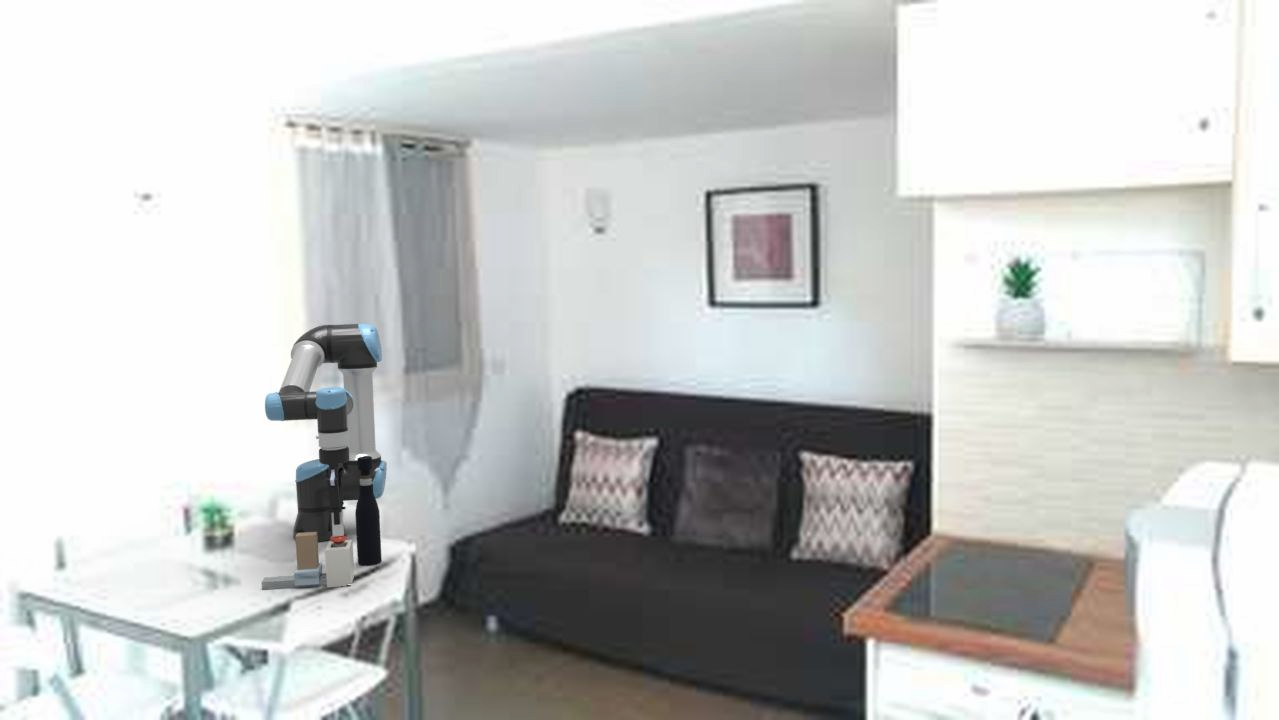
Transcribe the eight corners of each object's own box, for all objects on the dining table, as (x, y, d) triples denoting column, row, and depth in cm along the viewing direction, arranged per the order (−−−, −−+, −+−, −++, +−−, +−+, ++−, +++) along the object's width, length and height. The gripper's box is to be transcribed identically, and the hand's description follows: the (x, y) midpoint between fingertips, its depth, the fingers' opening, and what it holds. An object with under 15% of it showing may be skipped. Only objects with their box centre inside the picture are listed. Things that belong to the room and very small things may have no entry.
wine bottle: (357, 567, 272) (352, 460, 268) (357, 560, 278) (352, 455, 274) (381, 564, 273) (376, 458, 270) (381, 557, 280) (376, 454, 276)
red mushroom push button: (333, 560, 261) (331, 534, 260) (348, 559, 262) (347, 533, 261) (331, 565, 257) (329, 539, 256) (346, 564, 258) (345, 538, 257)
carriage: (299, 576, 261) (296, 531, 260) (322, 575, 262) (320, 529, 261) (294, 585, 254) (292, 538, 253) (318, 583, 256) (316, 537, 254)
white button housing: (331, 577, 263) (329, 541, 262) (354, 575, 264) (352, 539, 263) (327, 587, 255) (325, 550, 254) (350, 585, 256) (349, 548, 255)
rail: (265, 584, 259) (264, 577, 258) (330, 580, 261) (329, 572, 261) (261, 589, 255) (261, 582, 254) (328, 585, 257) (327, 577, 257)
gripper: (322, 443, 261) (327, 529, 264) (315, 452, 249) (319, 543, 251) (351, 441, 263) (355, 527, 265) (345, 451, 250) (350, 541, 253)
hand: (338, 535), depth 258 cm, fingers closed
